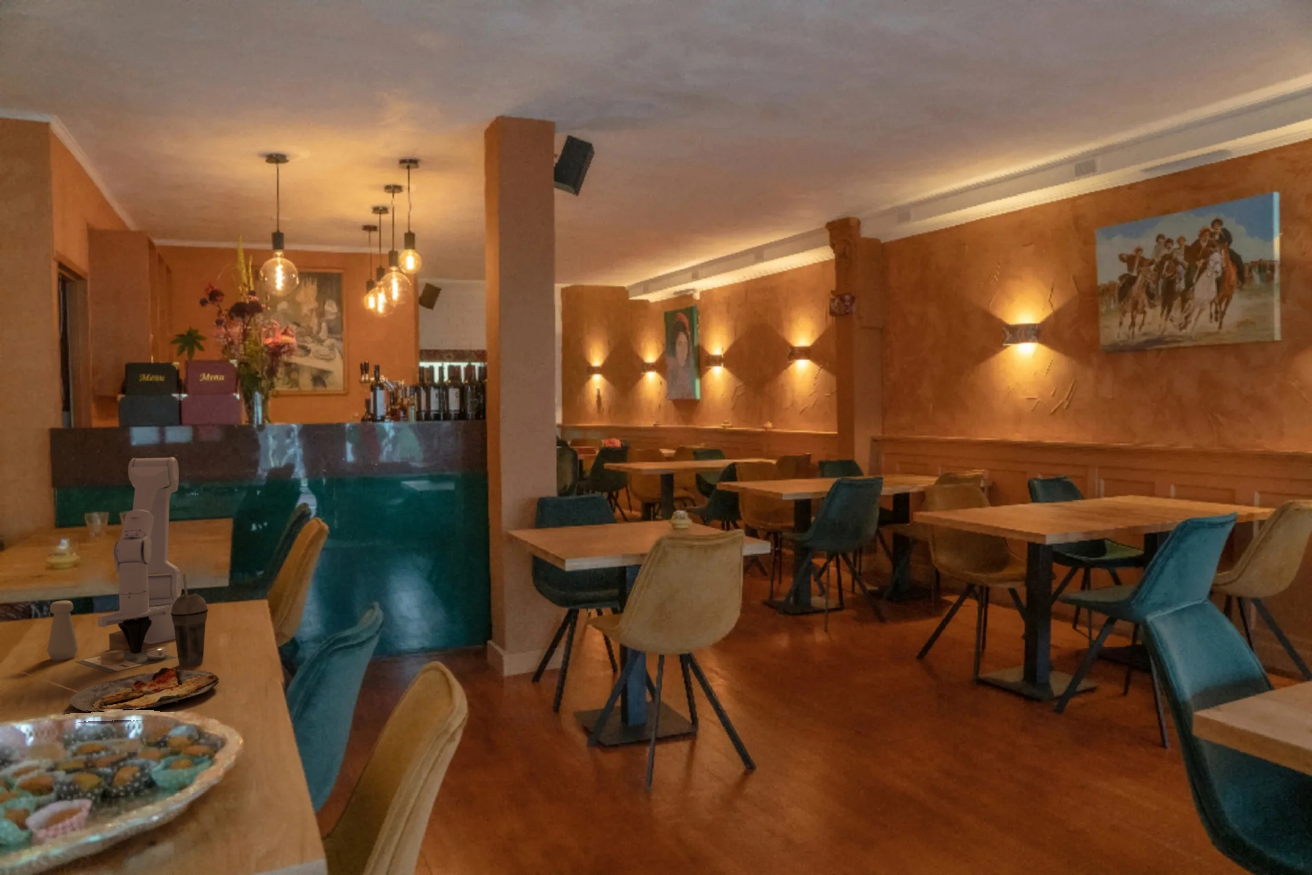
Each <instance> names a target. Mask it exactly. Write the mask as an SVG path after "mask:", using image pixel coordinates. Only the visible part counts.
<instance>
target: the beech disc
mask: <svg viewBox="0 0 1312 875" xmlns="http://www.w3.org/2000/svg"><path fill="white" fill-rule="evenodd" d="M124 651H125V650H107V651H104V652H102V653H100V656H101V664H102V665H111V664H117V663H121V662H123V661H124Z"/></svg>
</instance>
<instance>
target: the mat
mask: <svg viewBox="0 0 1312 875" xmlns="http://www.w3.org/2000/svg"><path fill="white" fill-rule="evenodd" d="M147 650H148V649H147V648H143V647H142V650H141V653H137V654H133V653H131V652H130V649H128V650H123V651H124V661H123V662H121V663H117V664H111V665H102V664H101V655H100V656H94V657H90V658H85V659H81V660H78V661H75V663H77V664H80V665H84V666H87V667H90V668H93V669H97V670H99V671H103V672H105V673H109V674H110V673H116V672H121V671H123V670H127V669H128V670H129V669H132V668H137V667H141V666H146V665H151V664H155V663H160V662H163V661H167V660H173V659H178V656H177V657H176V656H173V655H168V654H167V658H166V659H164V660H160V661H147V654H146V651H147Z"/></svg>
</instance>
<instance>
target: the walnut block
mask: <svg viewBox="0 0 1312 875" xmlns="http://www.w3.org/2000/svg"><path fill="white" fill-rule="evenodd" d="M108 640H109V643H108V644H109V651H115V650H122V651H127V650H130V648H129V645H128V642H127V639H126V637H125V635H124V633H123V632H122V630H121V629H120V630H117V631H116V632H115V631H114V632H111V633H108Z"/></svg>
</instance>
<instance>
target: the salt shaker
mask: <svg viewBox="0 0 1312 875" xmlns="http://www.w3.org/2000/svg"><path fill="white" fill-rule="evenodd" d="M49 605H50V606H49V611H50V613H51V614H53V618H52V623H51V629H50V633H49V639H48V645H47V649H46V651H47V653H48V656H49V658H50V659H51V661H59V662H60V661H66V660H70V659H73V658H75V657H76V655H77V652H78V649H79V645H78V641H77V640H78V639H77V636H76V632H75V627H74V624H73V618H72V615H71V612H72V611H73V609H74V604H73V602H72V601H71V600H57V601H54V602H52V603H51V604H49Z"/></svg>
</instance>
